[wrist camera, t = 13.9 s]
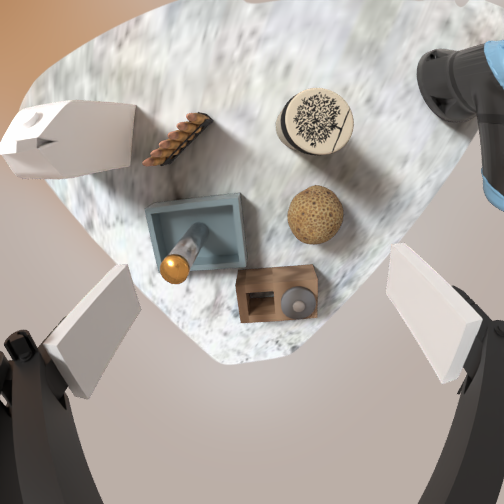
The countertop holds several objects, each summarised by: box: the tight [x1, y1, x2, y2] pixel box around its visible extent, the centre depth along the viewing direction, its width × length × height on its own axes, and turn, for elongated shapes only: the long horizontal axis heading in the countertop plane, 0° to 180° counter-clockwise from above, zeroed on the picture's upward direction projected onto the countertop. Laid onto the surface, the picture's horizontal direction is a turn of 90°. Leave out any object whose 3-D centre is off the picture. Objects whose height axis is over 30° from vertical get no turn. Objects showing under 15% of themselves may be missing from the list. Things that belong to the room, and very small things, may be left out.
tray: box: [145, 193, 247, 273], centre depth 49 cm, size 16×12×4 cm
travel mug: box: [276, 88, 354, 155], centre depth 35 cm, size 8×8×18 cm
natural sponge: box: [288, 185, 343, 244], centre depth 44 cm, size 9×9×10 cm
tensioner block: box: [235, 264, 318, 323], centre depth 51 cm, size 14×8×8 cm, turn 96°
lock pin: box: [160, 222, 209, 284], centre depth 43 cm, size 4×4×16 cm
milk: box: [0, 100, 136, 179], centre depth 33 cm, size 12×12×26 cm
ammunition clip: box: [142, 112, 213, 166], centre depth 40 cm, size 11×2×12 cm, turn 132°
